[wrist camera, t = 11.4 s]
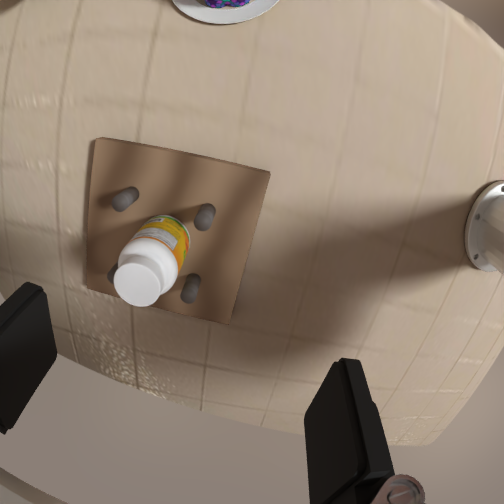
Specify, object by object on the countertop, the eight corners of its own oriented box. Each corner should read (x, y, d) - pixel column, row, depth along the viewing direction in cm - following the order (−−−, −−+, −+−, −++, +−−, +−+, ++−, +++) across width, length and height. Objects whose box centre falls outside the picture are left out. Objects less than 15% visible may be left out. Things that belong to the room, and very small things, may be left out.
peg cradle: (269, 171, 31) (272, 182, 27) (229, 317, 38) (226, 344, 34) (102, 137, 29) (79, 142, 25) (91, 282, 37) (74, 303, 32)
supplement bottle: (176, 270, 34) (152, 325, 25) (133, 245, 33) (97, 292, 24) (200, 231, 32) (181, 278, 23) (155, 204, 31) (119, 241, 22)
